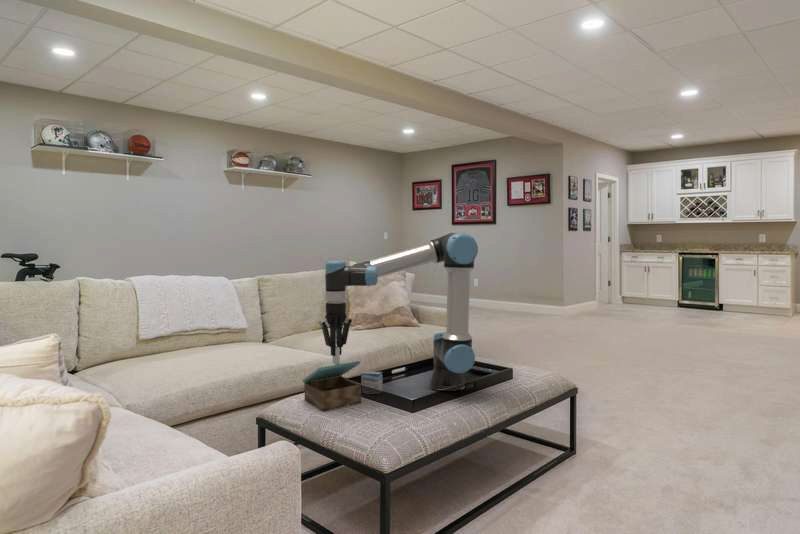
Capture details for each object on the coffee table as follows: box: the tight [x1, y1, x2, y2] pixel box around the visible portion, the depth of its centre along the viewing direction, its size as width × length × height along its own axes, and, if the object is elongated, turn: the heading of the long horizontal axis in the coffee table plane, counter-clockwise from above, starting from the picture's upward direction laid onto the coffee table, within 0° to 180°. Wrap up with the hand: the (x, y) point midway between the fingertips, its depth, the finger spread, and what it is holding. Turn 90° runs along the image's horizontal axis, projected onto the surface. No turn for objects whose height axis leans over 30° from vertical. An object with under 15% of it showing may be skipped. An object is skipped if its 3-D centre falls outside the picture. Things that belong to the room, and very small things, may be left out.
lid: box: [302, 360, 361, 383], centre depth 202 cm, size 17×17×1 cm
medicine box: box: [360, 370, 384, 391], centre depth 213 cm, size 8×4×9 cm, turn 76°
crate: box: [303, 375, 362, 412], centre depth 202 cm, size 16×16×7 cm
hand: (336, 363), depth 198 cm, fingers closed
